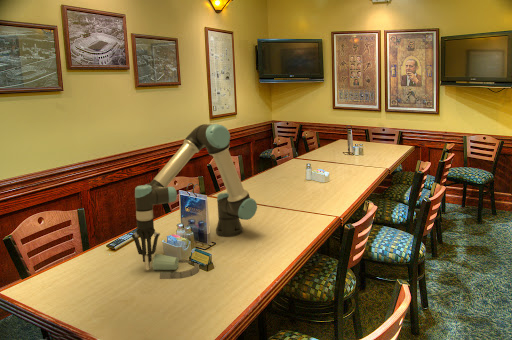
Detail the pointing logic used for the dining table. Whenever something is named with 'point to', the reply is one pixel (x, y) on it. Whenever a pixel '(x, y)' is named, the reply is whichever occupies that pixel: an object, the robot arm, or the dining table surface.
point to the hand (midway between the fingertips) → (147, 268)
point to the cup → (164, 262)
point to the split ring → (180, 274)
